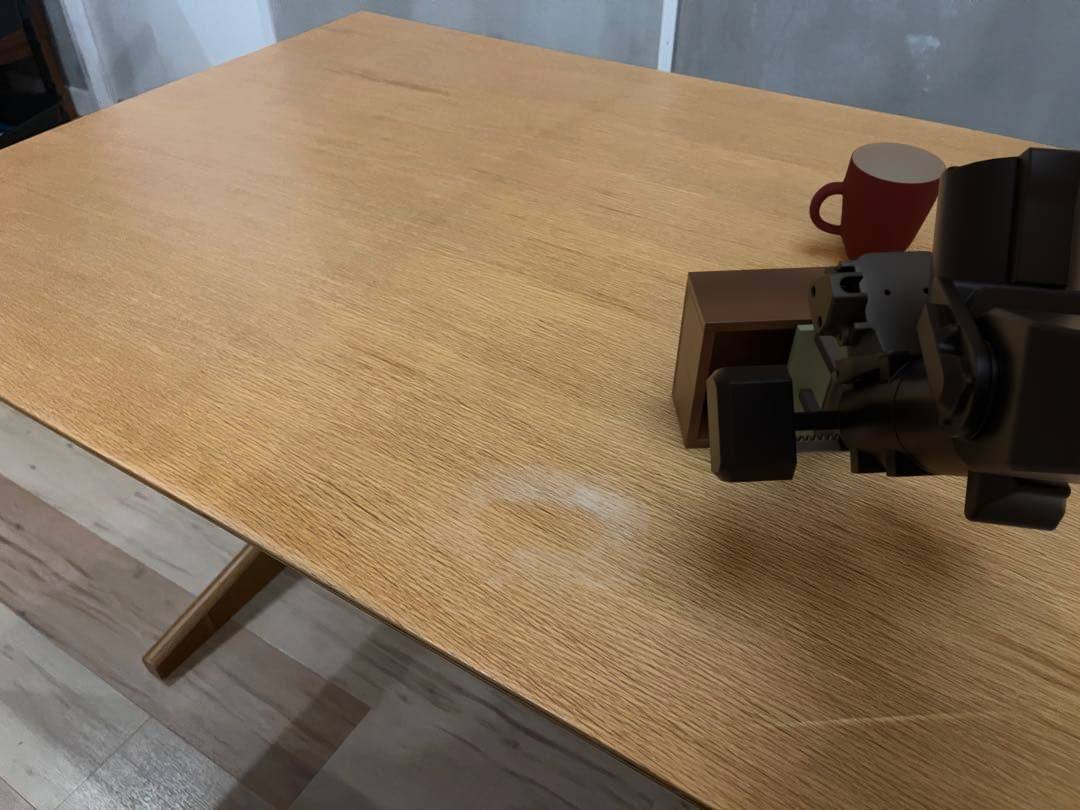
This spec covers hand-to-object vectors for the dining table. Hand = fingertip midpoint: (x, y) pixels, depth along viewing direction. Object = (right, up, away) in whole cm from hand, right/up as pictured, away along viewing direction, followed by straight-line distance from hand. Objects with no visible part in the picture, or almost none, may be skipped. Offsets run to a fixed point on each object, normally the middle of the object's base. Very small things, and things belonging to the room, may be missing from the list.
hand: (824, 421), depth 53 cm
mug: (+12, +15, +27) cm, 33 cm away
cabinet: (-1, 0, +10) cm, 10 cm away
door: (+2, -3, +5) cm, 6 cm away
